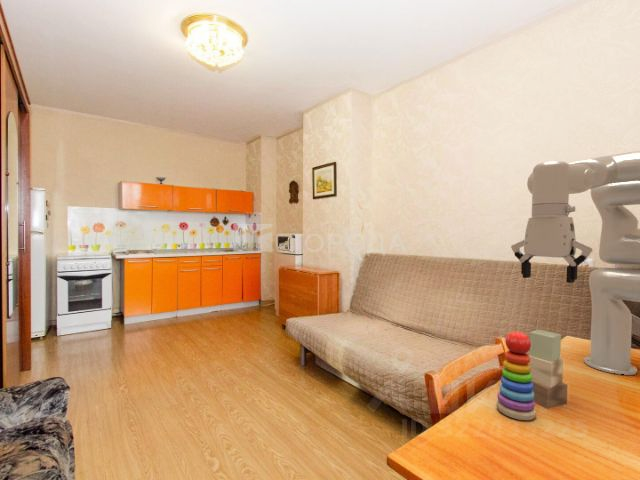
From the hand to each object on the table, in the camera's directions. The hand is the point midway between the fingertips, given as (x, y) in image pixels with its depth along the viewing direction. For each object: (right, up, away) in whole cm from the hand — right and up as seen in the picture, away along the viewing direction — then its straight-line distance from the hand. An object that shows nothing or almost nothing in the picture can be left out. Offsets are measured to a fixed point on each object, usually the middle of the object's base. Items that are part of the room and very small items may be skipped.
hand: (547, 279), depth 82 cm
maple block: (-1, -26, 0) cm, 26 cm away
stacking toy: (-12, -30, -6) cm, 33 cm away
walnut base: (-1, -31, 0) cm, 31 cm away
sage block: (-1, -20, 0) cm, 20 cm away
